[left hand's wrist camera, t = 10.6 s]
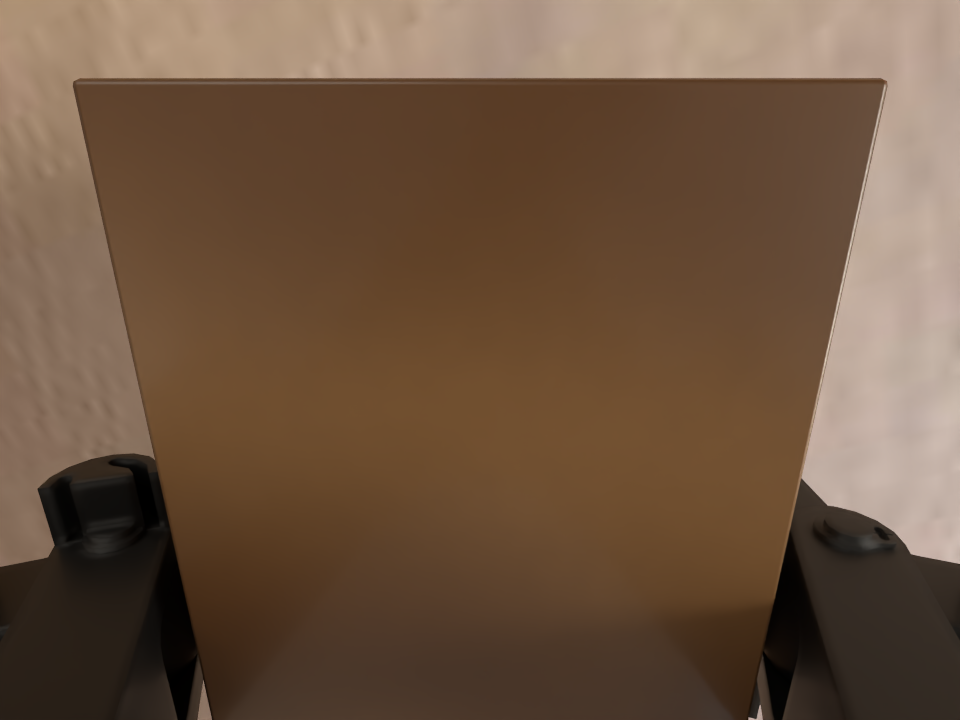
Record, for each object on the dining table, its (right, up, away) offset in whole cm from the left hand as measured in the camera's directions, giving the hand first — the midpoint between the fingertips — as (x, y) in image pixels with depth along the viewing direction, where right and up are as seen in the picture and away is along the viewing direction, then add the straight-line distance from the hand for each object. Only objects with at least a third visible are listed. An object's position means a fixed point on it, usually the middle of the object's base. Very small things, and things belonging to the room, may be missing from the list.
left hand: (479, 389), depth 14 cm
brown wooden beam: (0, -20, +8) cm, 22 cm away
